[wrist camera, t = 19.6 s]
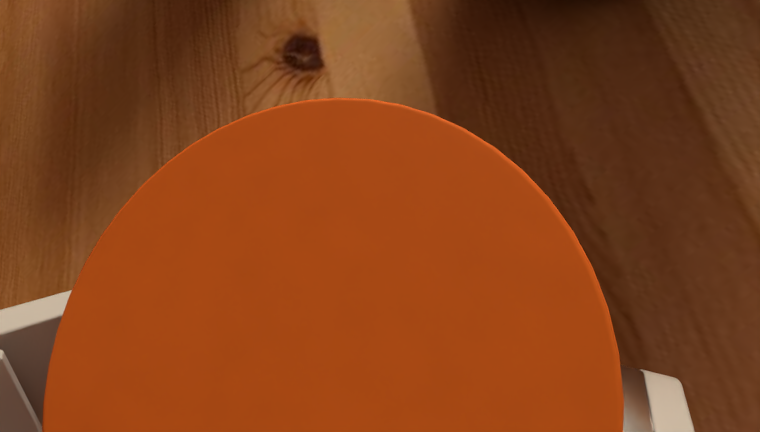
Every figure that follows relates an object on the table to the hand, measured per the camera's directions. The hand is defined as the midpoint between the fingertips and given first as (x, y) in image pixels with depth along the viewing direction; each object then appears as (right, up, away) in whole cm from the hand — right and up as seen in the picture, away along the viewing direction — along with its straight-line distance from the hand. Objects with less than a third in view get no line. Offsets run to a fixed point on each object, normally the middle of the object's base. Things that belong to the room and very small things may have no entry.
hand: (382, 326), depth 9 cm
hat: (+1, -2, +4) cm, 4 cm away
